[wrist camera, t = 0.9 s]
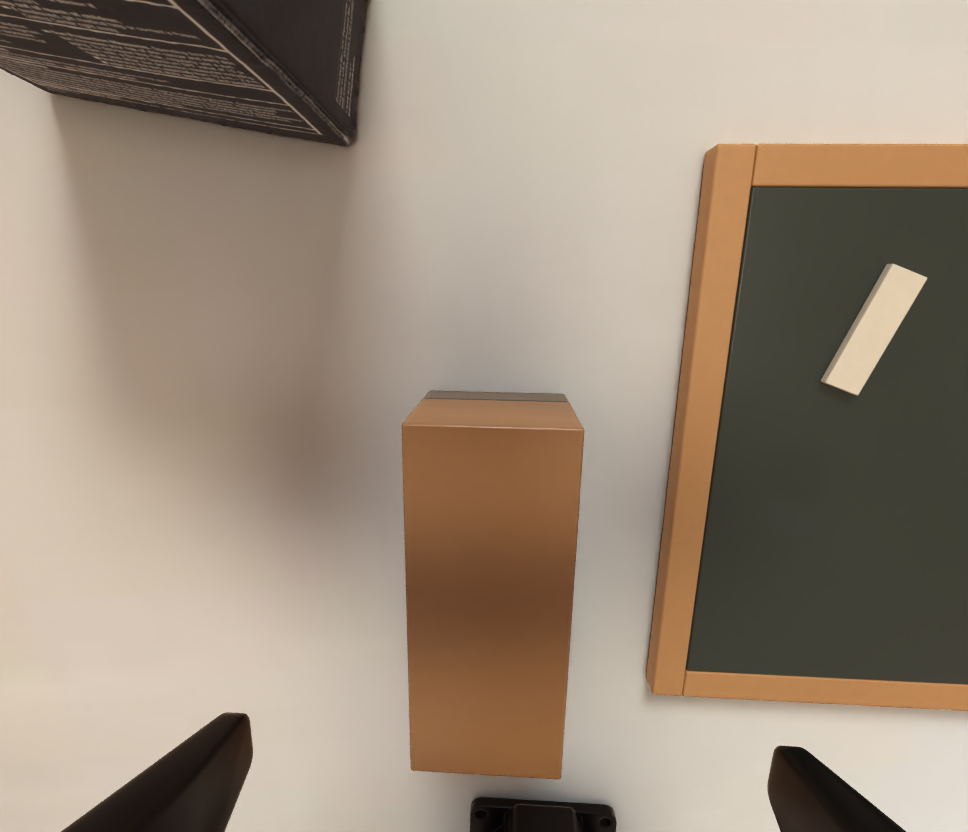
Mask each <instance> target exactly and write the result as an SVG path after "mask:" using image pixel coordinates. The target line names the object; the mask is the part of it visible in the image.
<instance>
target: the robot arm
mask: <svg viewBox="0 0 968 832" xmlns="http://www.w3.org/2000/svg"><path fill="white" fill-rule="evenodd" d="M252 757H253V746H252V737H251V728H250V720H249V717H248V715H247V714H244V713H228V712H227V713H223V714H221V715H220V716H218V717H217V718H215V719H214V720H213V721H211V722H210V723H209V724H207V725H206V726H204V727H203V728H202V729H200V730H199V731H198V732H196V733H195V734H194V735H192V736H191V737H189V738H188V739H187V740H185V741H184V742H183V743H181V744H180V745H179V746H177V747H176V748H174V749H173V750H172V751H170V752H169V753H168V754H166V755H165V756H164V757H162V758H161V759H159V760H158V761H157V762H155V763H154V764H153V765H151V766H150V767H149V768H147V769H146V770H144V771H143V772H142V773H140V774H139V775H138V776H136V777H135V778H134V779H132V780H131V781H130V782H128V783H127V784H125V785H124V786H123V787H121V788H120V789H119V790H117V791H116V792H115V793H113V794H112V795H110V796H109V797H108V798H106V799H105V800H104V801H102V802H101V803H100V804H98V805H97V806H95V807H94V808H93V809H91V810H90V811H89V812H87V813H86V814H85V815H83V816H82V817H80V818H79V819H78V820H76V821H75V822H74V823H72V824H71V825H70V826H68V827H67V828H65V829H64V830H63V831H61V832H225V829H226V827H227V824H228V822H229V819H230V817H231V814H232V812H233V809H234V807H235V804H236V801H237V799H238V796H239V794H240V791H241V789H242V786H243V784H244V781H245V779H246V776H247V774H248V771H249V769H250V766H251V762H252ZM768 796H769V800H770V803H771V806H772V809H773V811H774V814H775V817H776V820H777V823H778V825H779V828H780V831H781V832H906V831H905V830H903V829H902V828H901V827H900V826H899V825H897V824H896V823H895V822H894V821H892V820H891V819H890V818H889V817H888V816H886V815H885V814H884V813H883V812H881V811H880V810H879V809H878V808H877V807H875V806H874V805H873V804H872V803H870V802H869V801H868V800H867V799H866V798H864V797H863V796H862V795H861V794H859V793H858V792H857V791H856V790H855V789H853V788H852V787H851V786H850V785H848V784H847V783H846V782H845V781H844V780H842V779H841V778H840V777H839V776H837V775H836V774H835V773H834V772H833V771H831V770H830V769H829V768H828V767H826V766H825V765H824V764H823V763H822V762H820V761H819V760H818V759H817V758H815V757H814V756H813V755H812V754H811V753H809V752H808V751H807V750H805V749H803V748H801V747H792V746H777V747H776V748H775V750H774V753H773V758H772V763H771V768H770V773H769V779H768ZM470 832H616V818H615V813H614V810H613V809H612V807H610V806H608V805H600V804H584V803H568V802H552V801H536V800H519V799H503V798H487V797H479V798H476V799H474V800H473V801H472V804H471V815H470Z"/></svg>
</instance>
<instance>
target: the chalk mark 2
mask: <svg viewBox="0 0 968 832" xmlns="http://www.w3.org/2000/svg"><path fill="white" fill-rule="evenodd" d="M926 280H927V277H925V276H922V275H920V274H917V273H915V272H912V271H910V270H908V269H905V268H903V267H900V266H898V265H895V264H887V265H886V266H885V268H884V270H883V272H882V273H881V275H880V277H879V279H878V280H877V282H876V284H875V286H874V287H873V289H872V291H871V293H870V294H869V296H868V298H867V300H866V301H865V303H864V305H863V307H862V309H861V310H860V312H859V314H858V316H857V317H856V319H855V321H854V323H853V324H852V326H851V328H850V330H849V331H848V333H847V335H846V337H845V338H844V340H843V342H842V344H841V346H840V347H839V349H838V351H837V353H836V354H835V356H834V358H833V360H832V361H831V363H830V365H829V367H828V368H827V370H826V372H825V374H824V375H823V377H822V379H821V382H823V383H825V384H828V385H830V386H833V387H835V388H838V389H840V390H843V391H845V392H848V393H850V394H853V395H859V393H860V391H861V390H862V388H863V386H864V385H865V383H866V381H867V379H868V378H869V376H870V374H871V373H872V371H873V369H874V368H875V366H876V364H877V363H878V361H879V359H880V358H881V356H882V354H883V352H884V351H885V349H886V347H887V346H888V344H889V342H890V341H891V339H892V337H893V336H894V334H895V332H896V331H897V329H898V327H899V325H900V324H901V322H902V320H903V319H904V317H905V315H906V314H907V312H908V310H909V309H910V307H911V305H912V304H913V302H914V300H915V298H916V297H917V295H918V293H919V292H920V290H921V288H922V287H923V285H924V283H925V282H926Z"/></svg>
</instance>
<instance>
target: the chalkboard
mask: <svg viewBox="0 0 968 832" xmlns="http://www.w3.org/2000/svg"><path fill="white" fill-rule="evenodd" d="M887 264H895V265H898V266H900V267H903V268H905V269H908V270H910V271H912V272H915V273H917V274H920V275H922V276H925V277H927V280H926V282H925V283H924V285H923V287H922V288H921V290H920V292H919V293H918V295H917V297H916V298H915V300H914V302H913V304H912V305H911V307H910V309H909V310H908V312H907V314H906V315H905V317H904V319H903V320H902V322H901V324H900V325H899V327H898V329H897V331H896V332H895V334H894V336H893V337H892V339H891V341H890V342H889V344H888V346H887V347H886V349H885V351H884V352H883V354H882V356H881V358H880V359H879V361H878V363H877V364H876V366H875V368H874V369H873V371H872V373H871V374H870V376H869V378H868V379H867V381H866V383H865V385H864V386H863V388H862V390H861V391H860V393H859V395H853V394H850V393H848V392H845V391H843V390H840V389H838V388H835V387H833V386H830V385H828V384H825V383H823V382H821V379H822V377H823V375H824V374H825V372H826V370H827V368H828V367H829V365H830V363H831V361H832V360H833V358H834V356H835V354H836V353H837V351H838V349H839V347H840V346H841V344H842V342H843V340H844V338H845V337H846V335H847V333H848V331H849V330H850V328H851V326H852V324H853V323H854V321H855V319H856V317H857V316H858V314H859V312H860V310H861V309H862V307H863V305H864V303H865V301H866V300H867V298H868V296H869V294H870V293H871V291H872V289H873V287H874V286H875V284H876V282H877V280H878V279H879V277H880V275H881V273H882V272H883V270H884V268H885V266H886V265H887ZM646 677H647V680H648V683H649V685H650V688H651V691H652V693H653V694H655V695H675V696H681V695H683V696H691V697H711V698H730V699H750V700H769V701H788V702H808V703H827V704H847V705H866V706H885V707H905V708H924V709H944V710H963V711H968V144H758V145H755V144H718V145H716V146H715V147H713V148H712V149H710V150H709V151H708V152H706V154H705V162H704V170H703V179H702V188H701V197H700V206H699V215H698V223H697V232H696V241H695V250H694V259H693V268H692V277H691V285H690V294H689V303H688V312H687V321H686V330H685V338H684V347H683V356H682V365H681V374H680V383H679V391H678V400H677V409H676V418H675V427H674V436H673V445H672V453H671V462H670V471H669V480H668V489H667V498H666V506H665V515H664V524H663V533H662V542H661V551H660V559H659V568H658V577H657V586H656V595H655V604H654V613H653V621H652V630H651V639H650V648H649V657H648V666H647V674H646Z"/></svg>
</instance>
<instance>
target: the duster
mask: <svg viewBox="0 0 968 832" xmlns="http://www.w3.org/2000/svg"><path fill="white" fill-rule="evenodd" d="M583 442H584V429H583V427H582V425H581V423H580V421H579V420H578V418H577V416H576V414H575V412H574V410H573V409H572V407H571V405H570V403H569V402H568V400H567V398H566V396H565V395H564V394H541V393H501V392H460V391H429V392H428V394H427V395H426V396H425V397H424V399H422V401H421V402H420V403H419V404H418V405H417V407H416V408H415V409H414V410H413V412H412V413H411V414H410V415H409V416H408V418H407V419H406V420H405V421H404V423H403V424H402V456H403V494H404V532H405V570H406V608H407V645H408V683H409V721H410V759H411V770H413V771H430V772H446V773H463V774H480V775H497V776H513V777H530V778H547V779H560V778H561V770H562V755H563V740H564V725H565V710H566V696H567V681H568V666H569V651H570V636H571V621H572V606H573V591H574V576H575V561H576V546H577V532H578V517H579V502H580V487H581V472H582V457H583Z"/></svg>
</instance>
